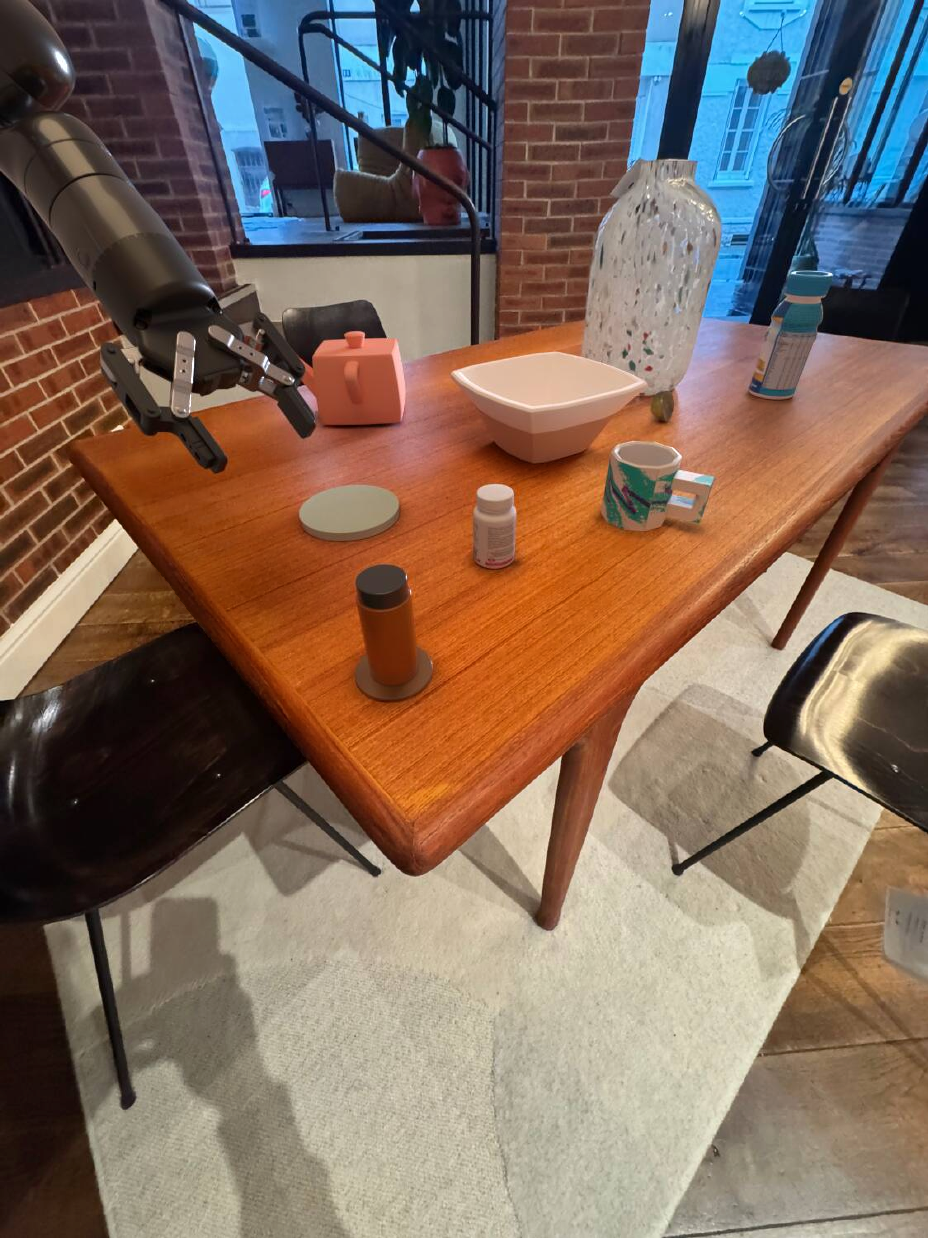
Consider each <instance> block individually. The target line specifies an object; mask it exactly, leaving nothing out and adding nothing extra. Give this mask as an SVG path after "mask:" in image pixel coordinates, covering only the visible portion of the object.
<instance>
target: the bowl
mask: <svg viewBox="0 0 928 1238" xmlns="http://www.w3.org/2000/svg"><path fill="white" fill-rule="evenodd" d="M450 377H451V379H452V380H453V381H454V383H455V384H456V385H457V386H458V388H459V389H460V390H461V391H462V392H463V393H464V394H465V396H466V397H467V398H468V399H469V400H470V401H471V402H472V404H473V405H474V407H475V409H476V410H477V412H478V415H479V416H480V418H481V420H482V421H483V423H484V425H485V427H486V429H487V431H488V433H489V434H490V437H491V439H492V441H493V442H494V443H495V444H496V445H497V446H498V447H499V448H500V449H501V450H503V451H504V452H505V453H507V454H509V455H511V456H513V457H515V458H517V459H519V460H522V461H525V462H527V463H530V464H533V465H536V464H542V463H548V462H552V461H556V460H559V459H562V458H566V457H569V456H573V455H575V454H579V453H582V452H584V451H586V450H588V449H589V448H590V447H591V445H592V444H593V443H594V442H595V441H596V439H597V438H598V437H599V435H600V434H601V433H602V431H603V430H604V429H605V428H606V426H607V425H608V424H609V422H611V420H612V419H613V418H614V416H615V415H616V414H617V413H619V412H620V410H621V409H623V408H624V407H625V406H626V405H628V404H629V403H630V402H631V401H632V400H634V399H635V398H636V397H637V396H639V395H640V394H641V393H642V392H643V391H644V390H646V389H647V387H648V383H647V381H645V380H644V379H642V378H639V377H638V376H636V375H634V374H632V373H631V372H627V371H625V370H623V369H620V368H617V367H615V366H612V365H610V364H608V363H604V362H601V361H596V360H594V359H590V358H586V357H583V356H579V355H575V354H570V353H565V352H560V351H550V352H549V351H548V352H539V353H538V352H537V353H530V354H525V355H520V356H519V355H518V356H513V357H507V358H503V359H496V360H492V361H487V362H482V363H476V364H472V365H469V366H465V367H462V368H459V369H455V370H453V371H451V373H450Z"/></svg>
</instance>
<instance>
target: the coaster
mask: <svg viewBox="0 0 928 1238" xmlns="http://www.w3.org/2000/svg"><path fill="white" fill-rule="evenodd" d="M417 652H418V661H419V669H418V672H417V674H416V675H415V676H414V677H413V678H412V679H411V680H410V681H408V682H406V683H404V684H401V685H396V686H387V685H383V684H380V683H378V682H377V681H375V680H374V679H373V677H372V676H371V673H370V669H369V664H368V658H367V653H366V652H365V654H364V655H362V657H361V658H360V659H359V661H358V662H357V664H356V666H355V670H354V679H355V683H356V686H357V688H358V690H359V691H360V692H361V693H362V694H364V695H365V696H367V697H368V698H370V699H372V700H375V701H378V702H385V703H394V702H401V701H405V700H408V699H411V698H413V697H415V696H417V695H418V694H420V693H421V692H422V691H424V690H425V688H427V686H428V685H429V684H430V682H431V680H432V678H433V673H434V667H433V661H432V659H431V657H430V656H429V654H428V653H427V652H426V651H425V650H423V648H420V647H418V646H417Z"/></svg>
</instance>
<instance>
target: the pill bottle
mask: <svg viewBox="0 0 928 1238" xmlns="http://www.w3.org/2000/svg"><path fill="white" fill-rule="evenodd" d="M514 495H515V492H514V490H513V489H512V488H511V487H510V486H508V485H505V484H501V483H500V484H499V483H490V484H485V485H483V486H480V487H479V488H478V489H477V490H476V497H475V502H476V506H475V507H474V508H473V512H472V546H473V547H472V549H473V554H472V555H473V560H474V562H475V563H476V564H478V566H481V567H483V568H486V569H495V570H496V569H502V568H505V567H507V566H509V565H511V563H512V562H513V561H514V560H515V552H516V551H515V549H516V548H515V547H516V527H517V509H516V507H515V506H514V503H515V496H514Z"/></svg>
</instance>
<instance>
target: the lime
mask: <svg viewBox="0 0 928 1238" xmlns="http://www.w3.org/2000/svg"><path fill="white" fill-rule="evenodd" d="M674 401H675V400H674V394H673V392H671V390H670V389H663V390H660V391H658V392H657V393H655V395H654V396H653V398H652V400H651V402H650V407H649V410H650V413H651V414H652V416H653V417H654V418H656V419H657V420H659V421H661V422H668V421H670V420H671V418H672V417H673V413H674V410H675V409H674V408H675V402H674Z"/></svg>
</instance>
